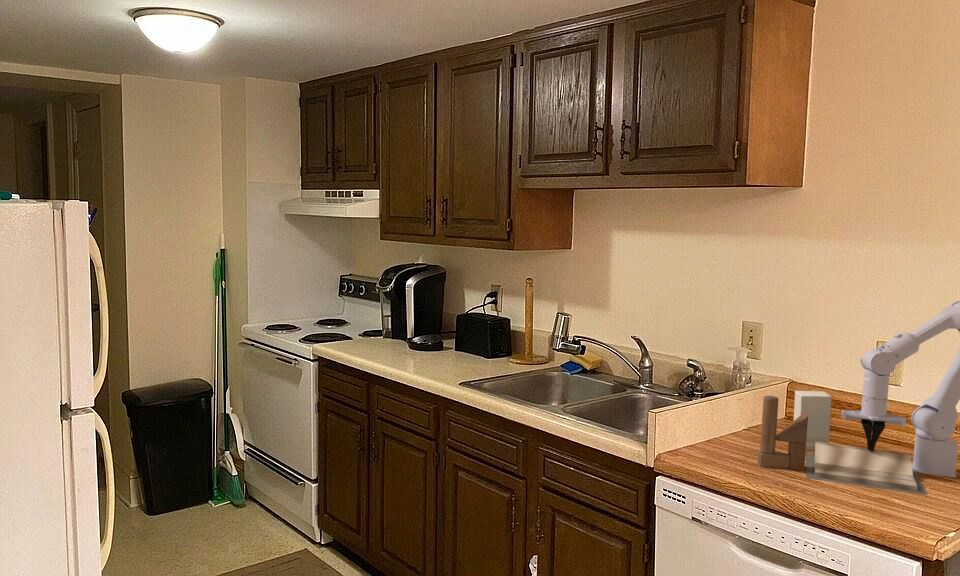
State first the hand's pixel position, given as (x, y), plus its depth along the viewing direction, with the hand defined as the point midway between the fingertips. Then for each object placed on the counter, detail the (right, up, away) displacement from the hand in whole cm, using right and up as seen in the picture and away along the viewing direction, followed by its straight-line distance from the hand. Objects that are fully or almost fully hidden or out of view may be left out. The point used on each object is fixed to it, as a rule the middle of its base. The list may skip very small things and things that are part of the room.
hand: (870, 449), depth 201 cm
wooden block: (-23, -5, -1) cm, 24 cm away
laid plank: (-6, -5, -9) cm, 12 cm away
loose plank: (-3, -3, -1) cm, 4 cm away
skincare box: (-8, -3, +17) cm, 19 cm away
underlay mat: (-4, -5, -4) cm, 8 cm away
